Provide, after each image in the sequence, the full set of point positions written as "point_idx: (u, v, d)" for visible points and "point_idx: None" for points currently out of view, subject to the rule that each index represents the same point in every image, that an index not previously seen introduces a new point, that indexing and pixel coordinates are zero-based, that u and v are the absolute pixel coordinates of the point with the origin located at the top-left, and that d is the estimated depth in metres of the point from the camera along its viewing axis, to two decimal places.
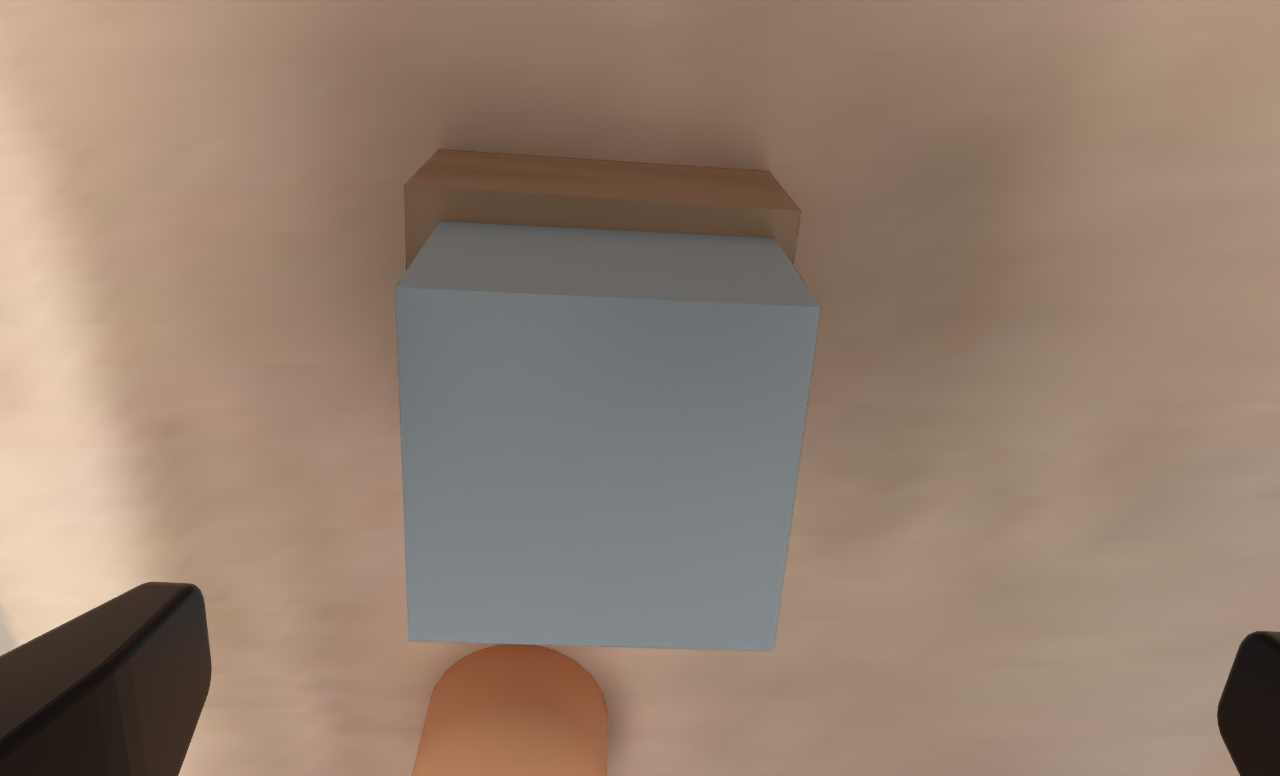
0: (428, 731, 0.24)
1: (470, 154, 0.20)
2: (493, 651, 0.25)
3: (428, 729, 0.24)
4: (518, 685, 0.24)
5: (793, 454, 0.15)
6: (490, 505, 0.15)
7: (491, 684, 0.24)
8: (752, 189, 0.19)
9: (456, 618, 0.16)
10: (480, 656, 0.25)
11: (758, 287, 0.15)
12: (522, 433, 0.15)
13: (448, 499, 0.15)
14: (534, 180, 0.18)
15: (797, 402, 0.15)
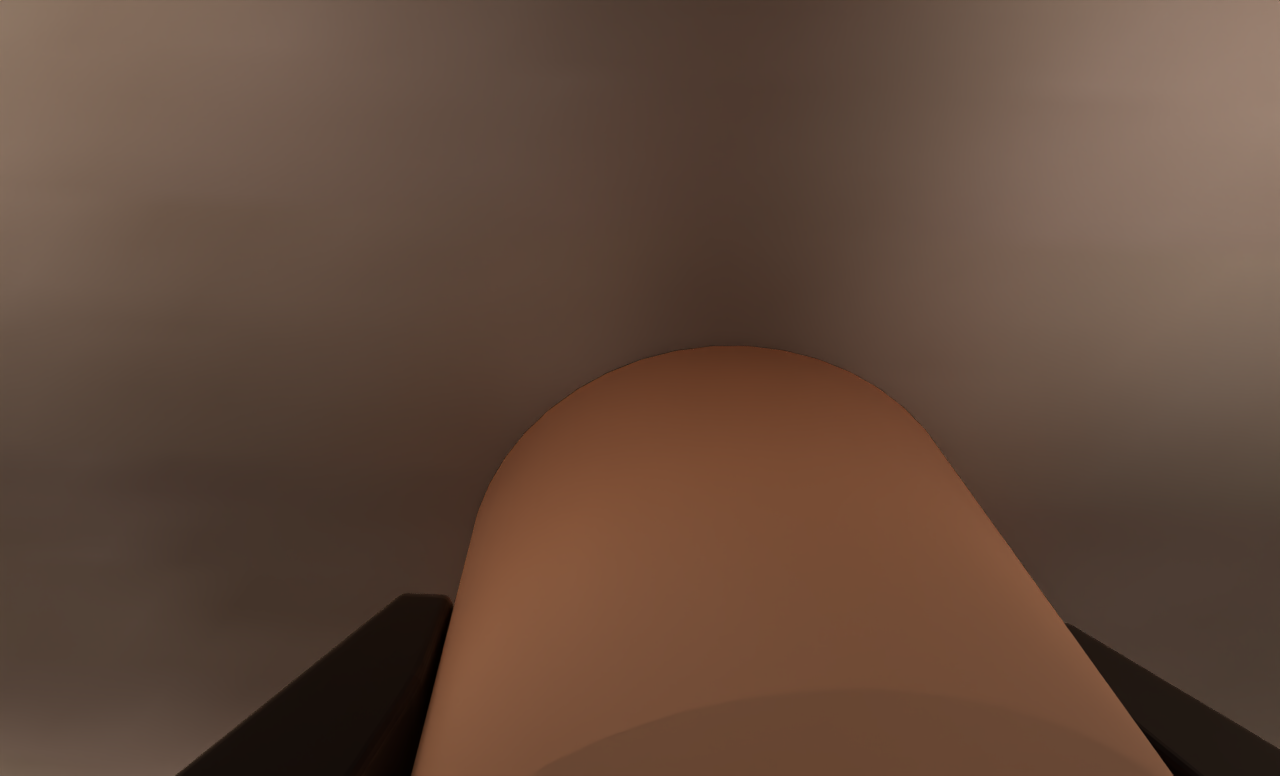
0: (479, 581, 0.07)
1: None
2: (671, 361, 0.08)
3: (479, 577, 0.07)
4: (788, 425, 0.07)
5: None
6: None
7: (694, 424, 0.07)
8: None
9: None
10: (632, 374, 0.08)
11: None
12: None
13: None
14: None
15: None
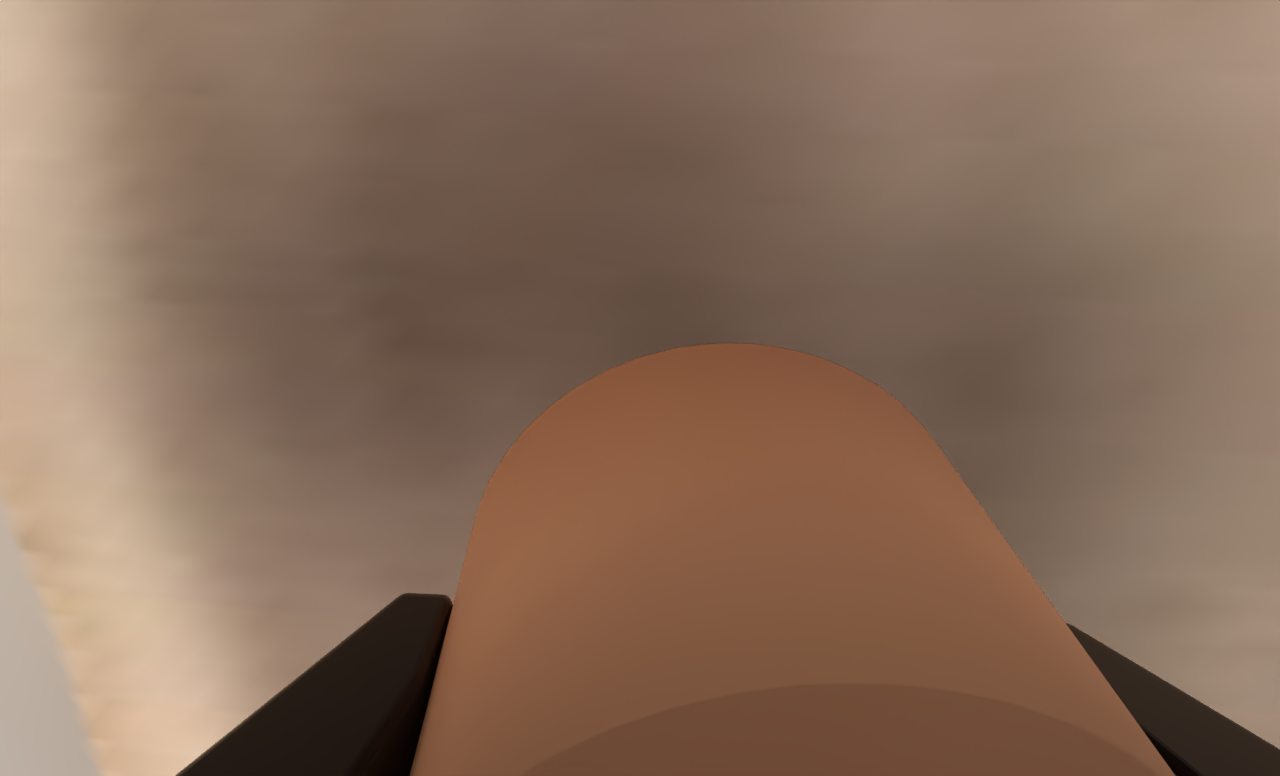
0: (479, 578, 0.07)
1: None
2: (671, 358, 0.08)
3: (479, 573, 0.07)
4: (787, 422, 0.07)
5: None
6: None
7: (693, 421, 0.07)
8: None
9: None
10: (632, 372, 0.08)
11: None
12: None
13: None
14: None
15: None
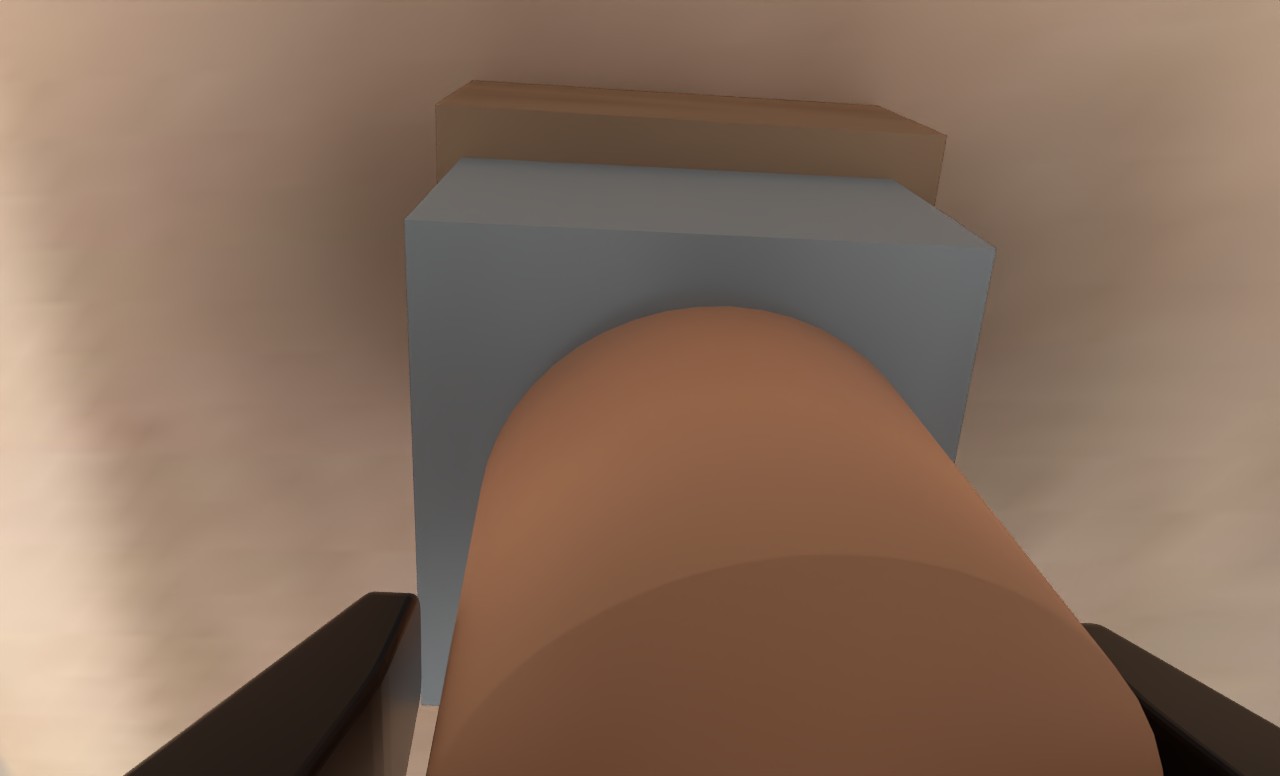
0: (500, 508, 0.08)
1: (511, 85, 0.16)
2: (663, 320, 0.09)
3: (498, 505, 0.08)
4: (768, 368, 0.08)
5: None
6: None
7: (686, 368, 0.08)
8: (871, 118, 0.15)
9: None
10: (628, 332, 0.09)
11: (899, 227, 0.11)
12: None
13: (474, 516, 0.11)
14: (598, 104, 0.14)
15: (955, 383, 0.11)
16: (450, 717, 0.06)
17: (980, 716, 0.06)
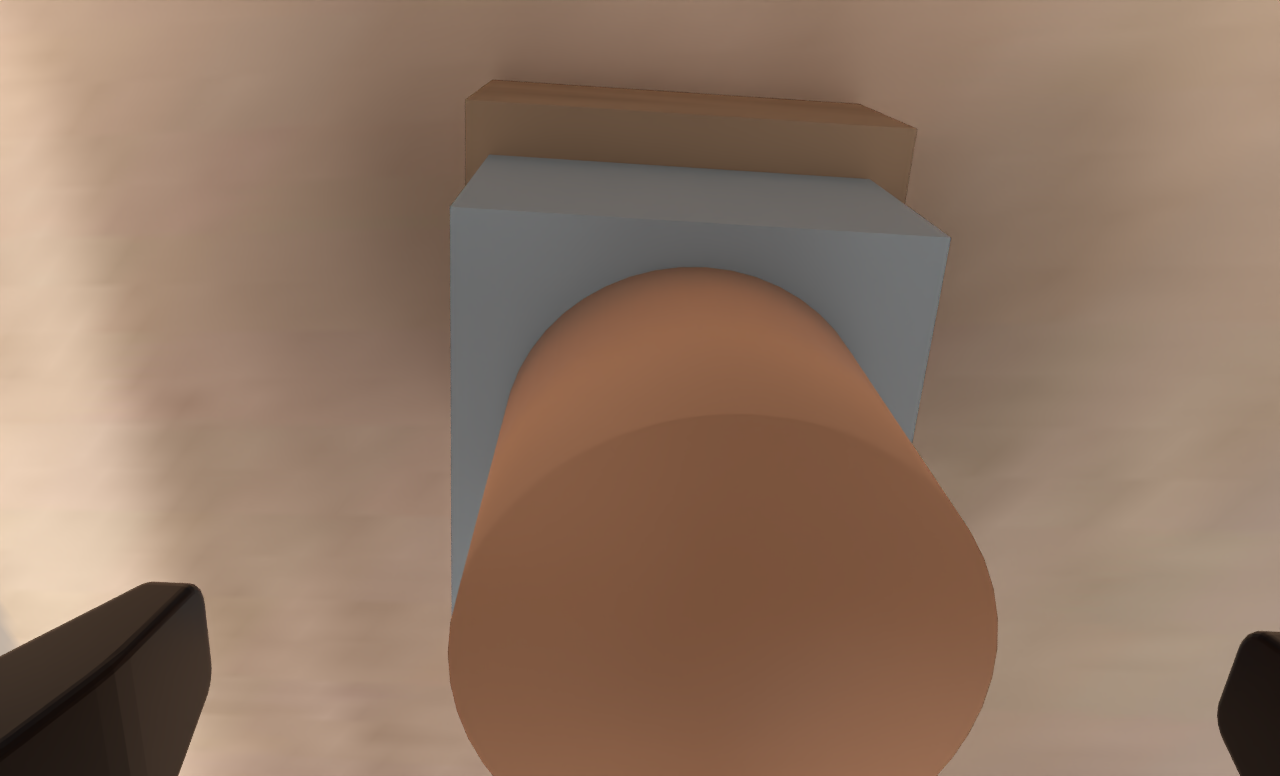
0: (518, 411, 0.10)
1: (528, 84, 0.18)
2: (650, 276, 0.12)
3: (517, 410, 0.10)
4: (726, 308, 0.10)
5: (908, 415, 0.13)
6: None
7: (663, 308, 0.10)
8: (851, 114, 0.17)
9: None
10: (623, 286, 0.12)
11: (870, 219, 0.13)
12: None
13: None
14: (608, 101, 0.16)
15: (916, 353, 0.12)
16: (477, 537, 0.08)
17: (856, 540, 0.08)
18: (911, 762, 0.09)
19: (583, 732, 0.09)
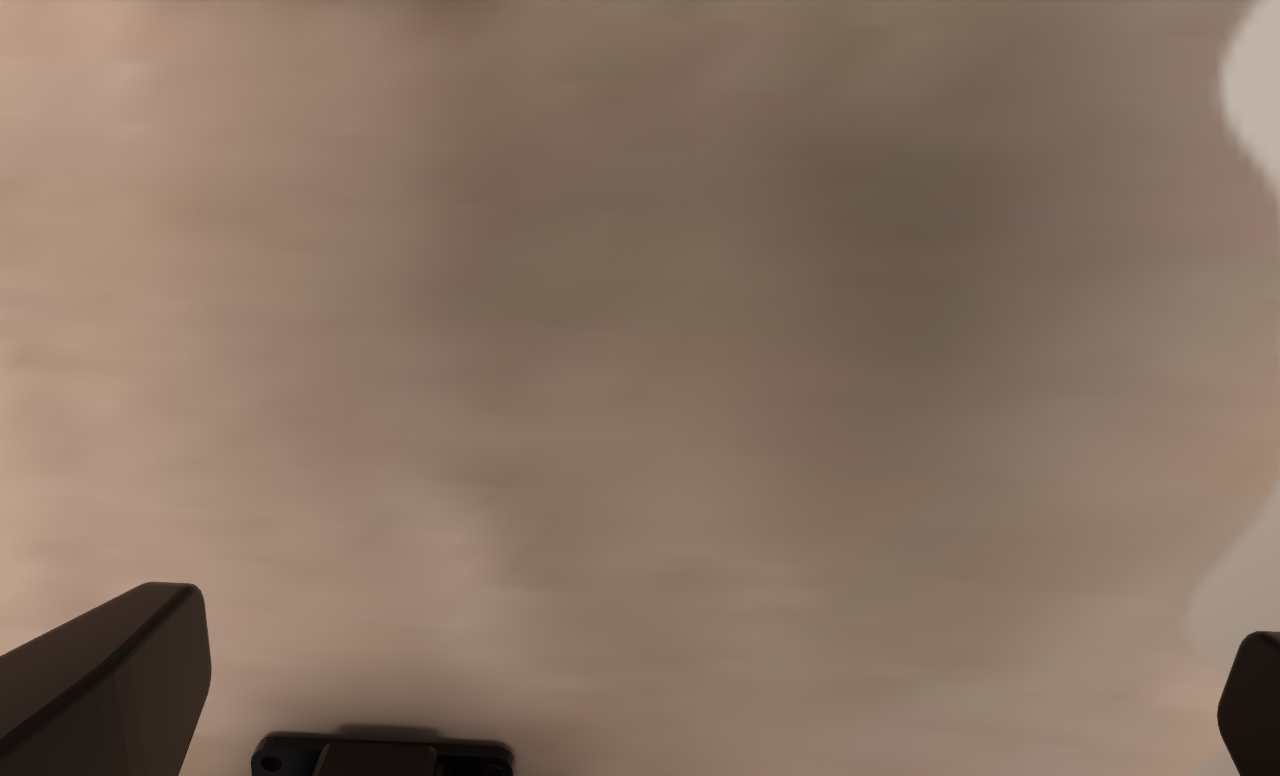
0: None
1: None
2: None
3: None
4: None
5: None
6: None
7: None
8: None
9: None
10: None
11: None
12: None
13: None
14: None
15: None
16: None
17: None
18: None
19: None
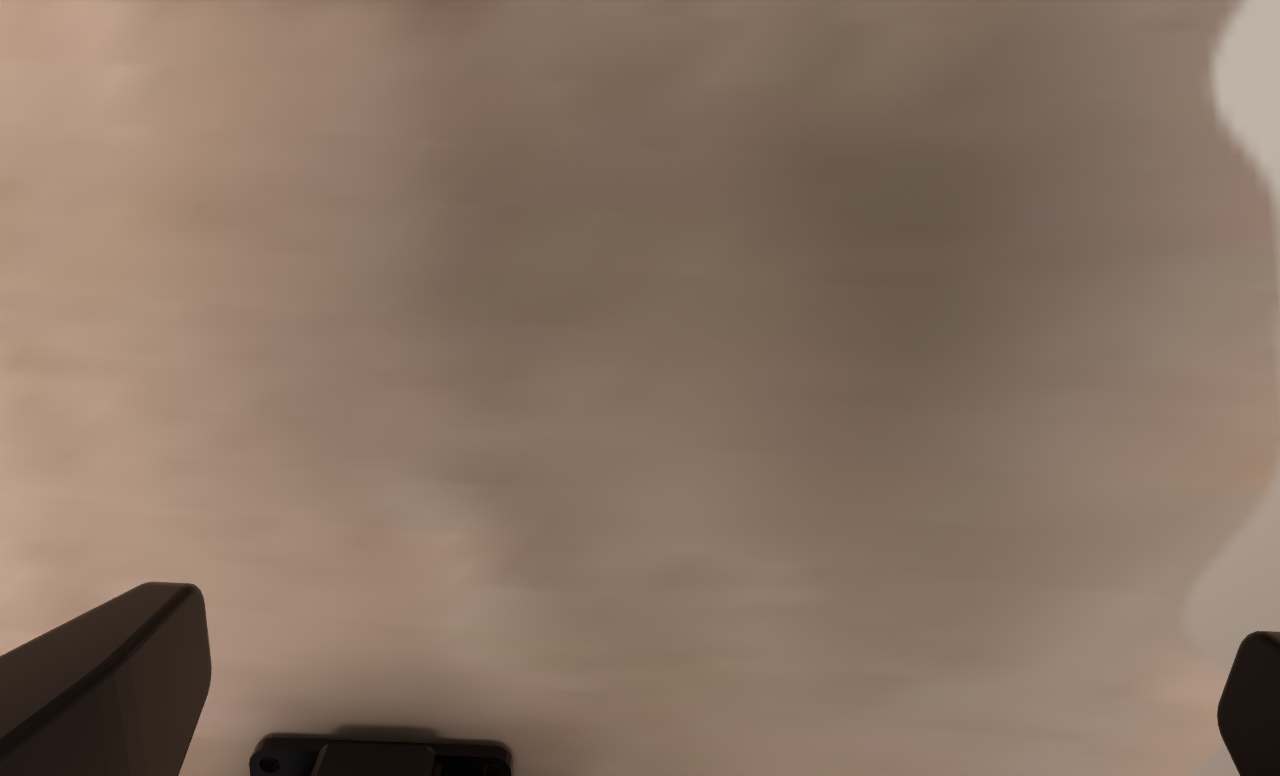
0: None
1: None
2: None
3: None
4: None
5: None
6: None
7: None
8: None
9: None
10: None
11: None
12: None
13: None
14: None
15: None
16: None
17: None
18: None
19: None
